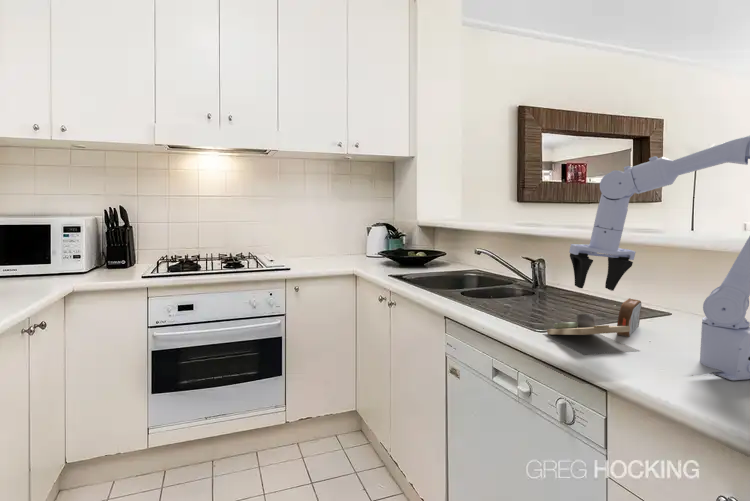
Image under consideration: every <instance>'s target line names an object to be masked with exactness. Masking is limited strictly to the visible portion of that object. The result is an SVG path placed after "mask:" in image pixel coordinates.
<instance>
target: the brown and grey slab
mask: <svg viewBox="0 0 750 501" xmlns="http://www.w3.org/2000/svg"><path fill="white" fill-rule="evenodd" d="M641 309H642V301H641V300H638V299H636V298H635V299H634V298H631V297H630V298H627V299H626V300H625V301H624V302H622V304H621V305H620V308H619V312H618V315H617V316H618V317H617V324H616V326H629V328H630V332H618V333H616V335H617V336H621V337H627V338H629V337H630V336H631V335H632V333H634V331H635V330H636V329H637V328H639V326H640V317H641V315H640V314H641Z"/></svg>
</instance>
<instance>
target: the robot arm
mask: <svg viewBox="0 0 750 501" xmlns="http://www.w3.org/2000/svg"><path fill="white" fill-rule="evenodd" d="M648 160H649V161H647V162H646V161H645V162H643V163H640V164H637V165H634V166H630V165H627V166H624V167H623V169H624V171H622V170H616V169H614V170H611V171H610V172H608V173H606V174H605V175H604V176H603V177H602V178H601V180H600V181H599V190H600V191H599V192H600V193H601V194H600V198H599V204H598V206H597V210H596V214H595V219H594V223H593V228H592V231H591V232H592V233H591V237H590V241H589V244H576V243H571V244H570V246H569V247H570V248H569V252H568V253H570V254H569V257H570V258H569V259H570V260H571V264H572V267H573V268H572V269H573V276H574V277H573V278H574V286H575V287H576V288H578V289H584V286H585V284H586V278H587V275H588V272H589V271H590V268H591V266H592V264H593V262H594V259H592V258H590V257H589V256H592V257H594V256H595V257H603V258H607V274H606V279H605V286H604V288H605V289H607V290H609V291H611V292H613V291H615V288H616V287H617V285H619V284H618V283H619V282H620V280H621V279H622V277H623V276H624V274H625V273H627V271H629V269H630V268H632V266H633V264H634V262H633V261H634V259H635V256H636V253H637V252H636V251H635V250H632V249H628V248H627V249H626V248H621V247H620V243H621V240H622V236H623V230H624V228H625V222H626V218H627V216H628V215H627V214H628V211H629V210H628V209H629V203H630V199H631V197H632V196H633V195H635V194H642V193H645V192H646V193H647V192H650V191H653V190H656V189H660V188H663V187H667V186H671V185H673V184H674V183H675V181H676V179H677V178H678V177H679V176H682V175H685V174H689V173H692V172H696V171H700V170H704V169H708V168H711V167H716V166H719V165H723V164H727V163H730V164H738V165H745V166H747V165H748V164H749V160H750V135H746V136H743V137H739V138H734V139H731V140H728V141H725V142H723V143H719V144H717V145H714V146H711V147H708V148H706V149H702V150H699V151H697V152H693V153H691V154H688V155H686V156H682V157H680V158H676V159H671V158H668V157H665V156H661V157H658V156H655V155H654V156H651V157H649V158H648ZM749 306H750V235H749V237H748V238H747V239H746V242H745V243H744V244H743V247H742V248H741V251H740V252H739V254H737V257H736V259H735V260H734V262H733V264H732V266H731V268H730V269H729V271H728V272H727V275H725V278H724V279H723V281H722V282H721V284H720V285H719V286H717V287H716V288H714V289H713V290H712V291H711V292H710V293H709V295H708V296H707V297H706V298H705V299H704V302H703V304H702V311H703V314H704V317H702V318H701V331H700V332H701V333H700V352H699V362H700V364H701V365H703V366H706V367H708V368H711V369H714V370H719V371H714V372H712V371H711V372H710V373H711V374H713V375H717V376H719V377H721V378H724V379H726V380H728V381H742V380H743V381H744V380H750V321H748V319H746V314H747V310H748V309H749Z"/></svg>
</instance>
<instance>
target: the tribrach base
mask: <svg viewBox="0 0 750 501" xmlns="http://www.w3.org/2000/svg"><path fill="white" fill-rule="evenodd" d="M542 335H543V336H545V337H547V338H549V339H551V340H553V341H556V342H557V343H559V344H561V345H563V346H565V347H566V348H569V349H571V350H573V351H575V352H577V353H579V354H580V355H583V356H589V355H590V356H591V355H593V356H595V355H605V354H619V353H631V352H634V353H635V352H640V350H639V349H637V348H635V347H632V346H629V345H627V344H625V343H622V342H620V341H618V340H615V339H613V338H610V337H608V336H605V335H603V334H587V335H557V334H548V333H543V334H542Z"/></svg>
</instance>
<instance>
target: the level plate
mask: <svg viewBox="0 0 750 501" xmlns="http://www.w3.org/2000/svg"><path fill="white" fill-rule="evenodd" d="M576 320H577V321H569V322H568V321H566V322H555V323H553V328H547V329H546V332H547V333H546V334H557V335H587V334H601V335H603V334H617V333H618V332H630V328H629V326H617V325H616V326H615V325H613V326H611V325H608V324H606V325H595V317H594V313H586V314H585V313H583V314H581V313H580V314H576Z"/></svg>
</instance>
